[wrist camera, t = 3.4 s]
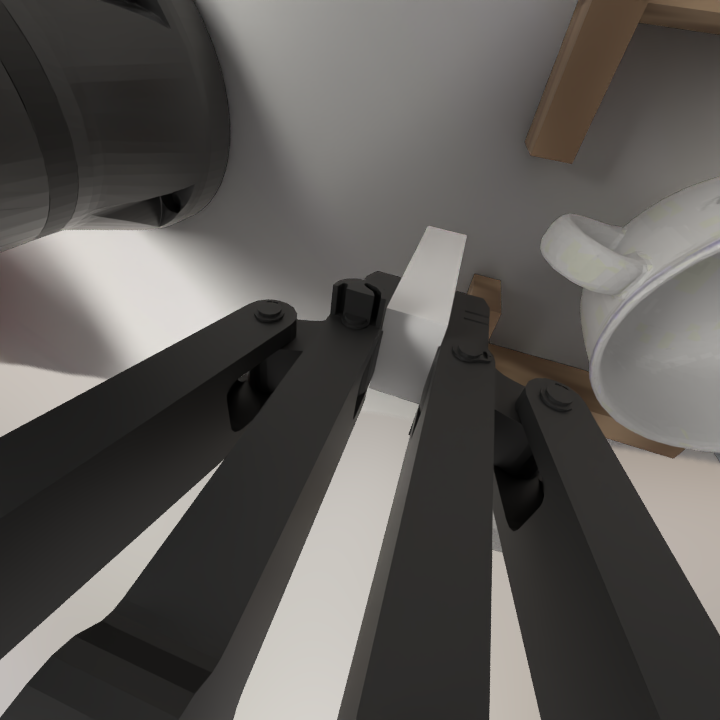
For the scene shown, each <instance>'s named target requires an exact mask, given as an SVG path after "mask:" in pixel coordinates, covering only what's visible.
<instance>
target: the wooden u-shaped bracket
mask: <svg viewBox="0 0 720 720" xmlns="http://www.w3.org/2000/svg"><path fill="white" fill-rule="evenodd" d="M638 23H644V24H651V25H657V26H664V27H671V28H677V29H684V30H691V31H697V32H704V33H711V34H717V35H720V0H578V3H577V5H576V8H575V11H574V13H573V16H572V19H571V21H570V24H569V27H568V29H567V32H566V34H565V37H564V40H563V42H562V45H561V48H560V50H559V53H558V55H557V58H556V61H555V63H554V66H553V69H552V71H551V74H550V77H549V79H548V82H547V84H546V87H545V90H544V92H543V95H542V98H541V100H540V103H539V105H538V108H537V111H536V113H535V116H534V119H533V121H532V124H531V127H530V129H529V132H528V134H527V137H526V140H525V144H526V147H527V149H528V151H529V153H530V155H531V156H536V157H540V158H545V159H550V160H555V161H560V162H565V163H569V164H572V163H573V161H574V159H575V156H576V154H577V152H578V150H579V148H580V146H581V144H582V142H583V140H584V137H585V135H586V133H587V131H588V129H589V127H590V125H591V123H592V120H593V118H594V116H595V114H596V112H597V110H598V108H599V106H600V103H601V101H602V99H603V97H604V95H605V93H606V91H607V89H608V87H609V84H610V82H611V80H612V78H613V76H614V74H615V72H616V70H617V67H618V65H619V63H620V61H621V59H622V57H623V55H624V53H625V50H626V48H627V46H628V44H629V42H630V40H631V38H632V36H633V34H634V31H635V29H636V27H637V25H638ZM467 294H469V295H473V296H476V297H480V298H484V300H485V301H486V303H487V304H488V306H489V307H490V317H489V339H490V337H491V335H492V332H493V330H494V328H495V326H496V324H497V322H498V320H499V318H500V315H501V281H500V280H496V279H492V278H488V277H485V276H481V275H477V274H474V277H473V279H472V282H471V284H470V287H469V290H468V292H467ZM488 349H489V351H490V352H491V353H492V354H493V356H494V359H495V368H496V369H497V370H498V371H499V372H501V373H502V374H503V375H505V376H506V377H508V378H510V379H512V380H513V381H515V382H517V383H519V384H521V385H523V386H526V384H527V383H528V381H530V380H532V379H535V378H547V379H551V380H554V381H558V382H560V383H562V384H564V385H566V386H568V387H569V388H571V389H572V390H573V391H575V392H576V393H577V394H578V395H579V396H580V397H581V398H582V399H583V401H584V402H585V403H586V405H587V406H588V408H589V410H590V412H591V413H592V415H593V417H594V419H595V420H596V422H597V424H598V425H599V427H600V429H601V431H602V432H603V434H604V436H605V438H608V439H611V440H614V441H618V442H621V443H624V444H627V445H631V446H634V447H637V448H640V449H644V450H647V451H650V452H653V453H657V454H660V455H663V456H667V457H670V458H675V457H676V456H677V455H678V454H680V453H681V452H682V451H683V450H685V448H680V447H675V446H670V445H667V444H663V443H660V442H656V441H653V440H650V439H647V438H645V437H643V436H641V435H639V434H637V433H635V432H633V431H631V430H629V429H627V428H626V427H624V426H623V425H621V424H619V423H618V422H616V421H615V420H614V419H613V418H612V417H611V416H610V415H609V413H608V412H607V411H606V410H605V409H604V408H603V407H602V406H601V405H600V403H599V402H598V400H597V398H596V396H595V394H594V391H593V389H592V387H591V383H590V379H589V372H588V371H585V370H581V369H578V368H574V367H571V366H567V365H564V364H560V363H557V362H553V361H550V360H546V359H542V358H539V357H535V356H532V355H528V354H525V353H521V352H518V351H514V350H511V349H507V348H504V347H500V346H497V345H493V344H490V343H488Z"/></svg>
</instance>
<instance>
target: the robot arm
mask: <svg viewBox="0 0 720 720" xmlns="http://www.w3.org/2000/svg"><path fill="white" fill-rule="evenodd" d="M229 142H230V123H229V111H228V102H227V96H226V90H225V86H224V81H223V77H222V73H221V69H220V66H219V62H218V59H217V56H216V53H215V50H214V47H213V45H212V42H211V39H210V36H209V34H208V32H207V29H206V27H205V25H204V22H203V20H202V18H201V16H200V14H199V12H198V10H197V8H196V6H195V4H194V2H193V0H0V252H2V251H5V250H8V249H11V248H13V247H16V246H19V245H22V244H25V243H27V242H29V241H32V240H35V239H38V238H41V237H44V236H47V235H49V234H53V233H56V232H59V231H62V230H153V229H159V228H163V227H167V226H170V225H173V224H175V223H177V222H179V221H182V220H184V219H186V218H188V217H191V216H193V215H195V214H196V213H198V212H199V211H201V210H202V209H203V208H204V207H205V206H206V205H207V204H208V203H209V202H210V201H211V200H212V198H213V197H214V195H215V194H216V192H217V190H218V188H219V186H220V184H221V182H222V179H223V176H224V173H225V169H226V165H227V160H228V153H229ZM466 238H467V235H464V234H460V233H456V232H452V231H448V230H444V229H440V228H436V227H432V226H428V227H427V229H426V231H425V233H424V235H423V237H422V239H421V241H420V243H419V245H418V247H417V249H416V251H415V253H414V255H413V257H412V259H411V261H410V262H409V264H408V266H407V268H406V270H405V272H404V274H403V276H402V278H401V277H398V276H394V275H390V274H387V273H383V272H379V271H377V272H374V273H372V274H370V275H368V276H367V277H366V278H365V280H362V279H345V280H341V281H338V282H337V283H335V284H334V285H333V293H332V303H331V313H330V315H329V316H328V318H327V319H326V320H325V321H307V320H297V313H296V311H295V309H294V308H293V307H292V306H290V305H289V304H287V303H285V302H281V301H278V300H260V301H256V302H253V303H250V304H248V305H246V306H244V307H243V308H241V309H239V310H237V311H235V312H233V313H231V314H229V315H228V316H226V317H224V318H222V319H220V320H218V321H216V322H215V323H213V324H211V325H209V326H207V327H205V328H203V329H201V330H200V331H198V332H196V333H194V334H192V335H190V336H188V337H187V338H185V339H183V340H181V341H179V342H177V343H175V344H173V345H172V346H170V347H168V348H166V349H164V350H162V351H160V352H159V353H157V354H155V355H153V356H151V357H149V358H147V359H145V360H144V361H142V362H140V363H138V364H136V365H134V366H132V367H131V368H129V369H127V370H125V371H123V372H121V373H119V374H117V375H116V376H114V377H112V378H110V379H108V380H106V381H105V382H103V383H101V384H99V385H97V386H95V387H93V388H91V389H89V390H88V391H86V392H84V393H82V394H80V395H78V396H76V397H75V398H73V399H71V400H69V401H67V402H65V403H63V404H62V405H60V406H58V407H56V408H54V409H52V410H50V411H48V412H47V413H45V414H43V415H41V416H39V417H37V418H35V419H34V420H32V421H30V422H28V423H26V424H24V425H22V426H20V427H19V428H17V429H15V430H13V431H11V432H9V433H7V434H6V435H4V436H2V437H0V659H1V658H3V657H4V656H5V655H6V654H7V653H8V652H9V651H10V650H11V649H13V648H14V647H15V646H16V645H17V644H18V643H19V642H21V641H22V640H23V639H24V638H25V637H26V636H27V635H28V634H30V632H32V631H33V630H34V629H35V628H36V627H37V626H38V625H39V624H41V623H42V622H43V621H44V620H45V619H46V618H47V617H48V616H50V614H52V613H53V612H54V611H55V610H56V609H57V608H59V607H60V606H61V605H62V604H63V603H64V602H65V601H66V600H67V599H68V598H70V596H72V595H73V594H74V593H75V592H76V591H77V590H78V589H80V588H81V587H82V586H83V585H84V584H85V583H86V582H88V581H89V580H90V579H91V578H92V577H93V576H94V575H95V574H96V573H98V572H99V571H100V570H101V569H102V568H103V567H104V566H105V565H106V564H107V563H109V562H110V561H111V560H112V559H113V558H114V557H115V556H117V555H118V554H119V553H120V552H121V551H122V550H123V549H124V548H125V547H126V546H128V545H129V544H130V543H131V542H132V541H133V540H134V539H136V538H137V537H138V536H139V535H140V534H141V533H142V532H143V531H144V530H146V528H148V527H149V526H150V525H151V524H152V523H153V522H154V521H156V520H157V519H158V518H159V517H160V516H161V515H162V514H163V513H165V512H166V511H167V510H168V509H169V508H170V507H171V506H172V505H173V504H175V503H176V502H177V501H178V500H179V499H180V498H181V497H182V496H183V495H185V494H186V493H187V492H188V491H189V490H190V489H191V488H192V487H194V486H195V485H196V484H197V483H198V482H199V481H200V480H201V479H202V478H204V477H205V476H206V475H207V474H208V473H209V472H210V471H211V470H212V469H214V468H215V467H216V466H217V465H218V464H219V463H220V462H221V461H223V460H224V461H223V462H222V463H221V465H220V466H219V467H218V469H217V470H216V472H215V473H214V474H213V476H212V477H211V478H210V480H209V481H208V483H207V484H206V485H205V487H204V488H203V489H202V491H201V492H200V493H199V495H198V496H197V498H196V499H195V500H194V502H193V503H192V504H191V506H190V508H189V509H188V510H187V511H186V513H185V514H184V515H183V517H182V518H181V520H180V521H179V523H178V524H177V525H176V526H175V528H174V529H173V531H172V532H171V533H170V535H169V536H168V537H167V539H166V540H165V541H164V543H163V544H162V546H161V547H160V548H159V550H158V551H157V553H156V554H155V555H154V557H153V558H152V559H151V561H150V562H149V564H148V565H147V566H146V568H145V569H144V570H143V572H142V573H141V574H140V576H139V577H138V579H137V580H136V581H135V583H134V584H133V585H132V587H131V588H130V590H129V591H128V592H127V594H126V595H125V597H124V598H123V599H122V600H121V601H120V603H119V604H118V605H117V606H116V608H115V609H114V610H113V611H112V612H111V613H110V614H109V615H108V616H106V617H105V618H104V619H103V620H102V621H101V622H99V623H97V624H95V625H93V626H92V627H90V628H88V629H86V630H84V631H82V632H80V633H79V634H77V635H75V636H74V637H73V638H71V639H70V640H69V641H68V642H67V643H66V644H64V645H63V646H62V647H61V648H60V649H59V650H58V651H56V652H55V653H54V654H53V655H52V656H51V657H50V658H49V659H48V660H47V662H46V663H45V664H44V665H43V666H42V667H41V668H40V670H39V671H38V672H37V673H36V674H35V675H34V676H33V678H32V679H31V680H30V681H29V682H28V683H27V684H26V685H25V687H24V688H23V689H22V691H21V692H20V693H19V695H18V696H17V697H16V698H15V699H14V701H13V702H12V703H11V705H10V706H9V707H8V708H7V710H6V711H5V712H4V714H3V715H2V716H1V717H0V720H233V718H234V715H235V711H236V707H237V705H238V702H239V699H240V696H241V694H242V692H243V689H244V686H245V684H246V682H247V679H248V677H249V675H250V672H251V670H252V668H253V665H254V663H255V660H256V658H257V656H258V653H259V651H260V648H261V646H262V643H263V641H264V639H265V637H266V634H267V632H268V629H269V627H270V625H271V622H272V620H273V618H274V615H275V613H276V610H277V608H278V606H279V603H280V601H281V598H282V596H283V594H284V591H285V589H286V587H287V584H288V582H289V579H290V577H291V574H292V572H293V570H294V568H295V565H296V563H297V560H298V558H299V556H300V553H301V551H302V549H303V546H304V544H305V541H306V539H307V537H308V534H309V532H310V529H311V527H312V525H313V522H314V520H315V518H316V515H317V513H318V510H319V508H320V505H321V503H322V501H323V498H324V496H325V494H326V491H327V489H328V487H329V484H330V482H331V479H332V477H333V475H334V472H335V470H336V467H337V465H338V463H339V461H340V458H341V456H342V453H343V451H344V449H345V446H346V444H347V441H348V439H349V437H350V434H351V432H352V429H353V427H354V425H355V422H356V420H357V418H358V415H359V413H360V411H361V408H362V406H363V403H364V401H365V397H366V392H367V388H368V385H369V383H370V386H369V388H371V389H374V390H377V391H380V392H383V393H386V394H389V395H393V396H396V397H399V398H402V399H405V400H408V401H411V402H414V403H417V404H419V407H418V410H417V413H416V415H415V418H414V421H413V424H412V426H411V429H410V432H409V435H410V438H409V442H408V446H407V450H406V454H405V458H404V461H403V465H402V469H401V473H400V477H399V481H398V485H397V489H396V493H395V497H394V500H393V504H392V508H391V512H390V516H389V520H388V524H387V527H386V531H385V535H384V539H383V543H382V547H381V551H380V555H379V559H378V563H377V567H376V571H375V574H374V579H373V582H372V586H371V590H370V594H369V598H368V602H367V605H366V609H365V613H364V618H363V621H362V625H361V629H360V633H359V636H358V640H357V645H356V649H355V652H354V656H353V660H352V664H351V668H350V672H349V675H348V680H347V683H346V687H345V691H344V695H343V699H342V703H341V707H340V710H339V714H338V719H337V720H489V703H490V643H491V587H492V529H493V513H494V517H495V521H496V526H497V530H498V534H499V539H500V543H501V548H502V552H503V556H504V561H505V564H506V569H507V573H508V578H509V582H510V587H511V591H512V595H513V600H514V604H515V608H516V612H517V617H518V621H519V626H520V630H521V634H522V639H523V643H524V647H525V651H526V656H527V660H528V665H529V668H530V673H531V678H532V682H533V686H534V691H535V695H536V699H537V704H538V708H539V712H540V717H541V720H720V635H719V633H718V632H717V630H716V628H715V626H714V625H713V623H712V621H711V619H710V618H709V616H708V614H707V612H706V611H705V609H704V607H703V606H702V604H701V602H700V600H699V599H698V597H697V595H696V594H695V592H694V590H693V588H692V587H691V585H690V583H689V581H688V580H687V578H686V576H685V574H684V573H683V571H682V569H681V567H680V566H679V564H678V562H677V561H676V559H675V557H674V555H673V554H672V552H671V550H670V548H669V547H668V545H667V543H666V541H665V540H664V538H663V537H662V535H661V533H660V531H659V529H658V528H657V526H656V524H655V522H654V521H653V519H652V517H651V516H650V514H649V512H648V510H647V509H646V507H645V505H644V503H643V502H642V500H641V498H640V496H639V495H638V493H637V491H636V490H635V488H634V486H633V485H632V483H631V481H630V479H629V477H628V476H627V474H626V472H625V471H624V469H623V467H622V465H621V464H620V462H619V460H618V458H617V457H616V455H615V453H614V451H613V450H612V448H611V446H610V445H609V443H608V441H607V439H606V438H605V436H604V434H603V432H602V431H601V429H600V427H599V425H598V424H597V422H596V420H595V419H594V417H593V415H592V413H591V412H590V410H589V408H588V406H587V405H586V403H585V402H584V401H583V399H582V398H581V397H580V396H579V395H578V394H577V393H576V392H575V391H573V390H572V389H571V388H569V387H568V386H566V385H564V384H562V383H560V382H558V381H554V380H551V379H547V378H535V379H532V380H530V381H528V383H527V384H526V386H523V385H521V384H519V383H517V382H515V381H513V380H512V379H510V378H508V377H506V376H505V375H503V374H502V373H501V372H499V371H498V370H497V369H496V368H495V359H494V356H493V354H492V353H491V352H490V351H489V349H488V343H489V317H490V307H489V306H488V304H487V303H486V301H485V300H484V298H480V297H476V296H473V295H469V294H465V293H462V292H458V291H455V290H456V285H457V280H458V276H459V271H460V266H461V261H462V257H463V252H464V247H465V242H466ZM245 373H246V374H245ZM370 381H371V382H370Z"/></svg>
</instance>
